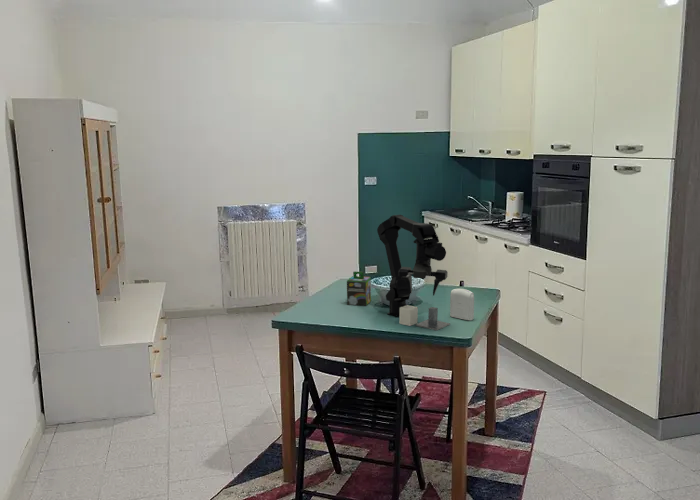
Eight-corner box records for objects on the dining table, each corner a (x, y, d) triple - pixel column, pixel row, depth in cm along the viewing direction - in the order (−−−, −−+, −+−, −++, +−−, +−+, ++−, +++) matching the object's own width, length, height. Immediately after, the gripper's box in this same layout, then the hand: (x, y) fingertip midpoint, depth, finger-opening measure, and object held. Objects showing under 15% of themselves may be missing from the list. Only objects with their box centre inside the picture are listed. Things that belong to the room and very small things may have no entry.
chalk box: (371, 301, 290) (371, 269, 288) (366, 306, 282) (366, 273, 279) (351, 300, 293) (351, 268, 290) (346, 305, 284) (346, 272, 281)
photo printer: (448, 316, 265) (449, 287, 263) (454, 314, 268) (455, 286, 266) (469, 321, 258) (470, 292, 256) (475, 319, 261) (476, 290, 259)
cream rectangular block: (399, 323, 256) (399, 307, 255) (406, 320, 260) (406, 305, 259) (410, 326, 253) (410, 309, 251) (417, 323, 257) (417, 307, 255)
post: (415, 325, 253) (415, 308, 252) (428, 320, 261) (429, 303, 259) (436, 330, 247) (437, 313, 245) (450, 324, 254) (450, 307, 253)
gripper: (395, 258, 245) (394, 297, 248) (443, 262, 239) (441, 301, 243) (402, 252, 255) (401, 290, 259) (448, 256, 250) (446, 294, 253)
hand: (422, 294), depth 253 cm, fingers open, 9 cm apart
